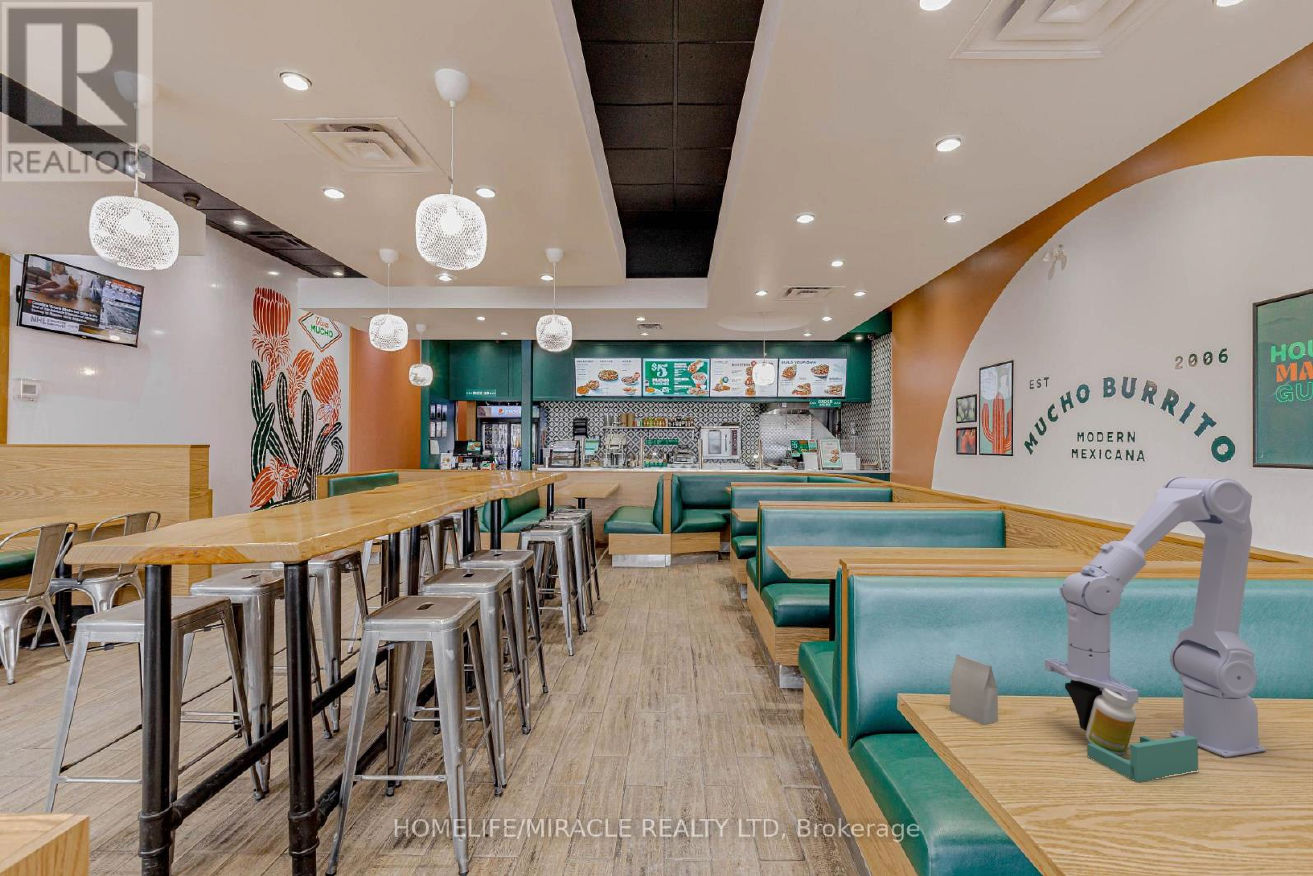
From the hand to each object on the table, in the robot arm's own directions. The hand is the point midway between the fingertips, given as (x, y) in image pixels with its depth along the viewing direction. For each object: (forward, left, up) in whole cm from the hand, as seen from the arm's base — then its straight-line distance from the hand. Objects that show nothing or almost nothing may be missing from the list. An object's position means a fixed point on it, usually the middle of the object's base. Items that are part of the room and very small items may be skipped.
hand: (1087, 729), depth 96 cm
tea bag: (+11, -12, -2) cm, 17 cm away
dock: (-1, +8, -2) cm, 8 cm away
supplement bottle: (0, +3, -1) cm, 3 cm away
